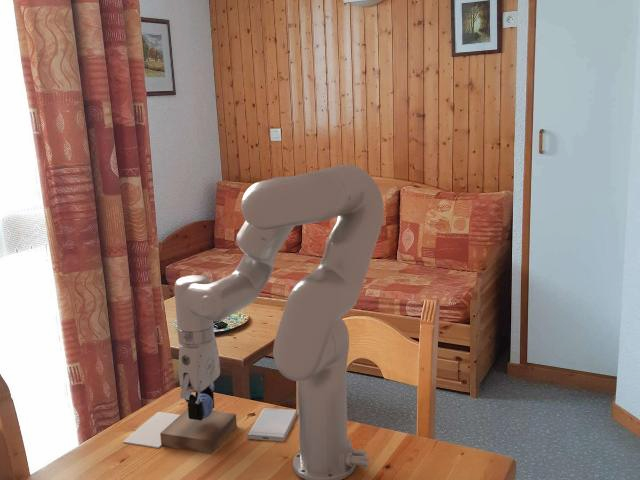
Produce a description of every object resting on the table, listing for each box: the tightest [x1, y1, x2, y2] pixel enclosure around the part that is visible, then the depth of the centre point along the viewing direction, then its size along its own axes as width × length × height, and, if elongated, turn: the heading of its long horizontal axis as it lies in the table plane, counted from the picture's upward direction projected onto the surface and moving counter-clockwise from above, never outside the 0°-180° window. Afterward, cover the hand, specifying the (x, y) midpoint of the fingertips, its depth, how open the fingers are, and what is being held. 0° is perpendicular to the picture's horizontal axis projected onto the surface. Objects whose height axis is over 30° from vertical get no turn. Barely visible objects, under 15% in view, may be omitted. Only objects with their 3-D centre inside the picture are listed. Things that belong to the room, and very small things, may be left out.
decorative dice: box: [193, 394, 214, 418], centre depth 139 cm, size 4×4×4 cm
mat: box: [122, 411, 181, 449], centre depth 144 cm, size 9×14×1 cm, turn 162°
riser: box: [160, 408, 238, 455], centre depth 140 cm, size 12×12×3 cm
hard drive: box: [247, 407, 298, 442], centre depth 144 cm, size 2×8×12 cm
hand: (201, 412), depth 139 cm, fingers closed on decorative dice, 4 cm apart
